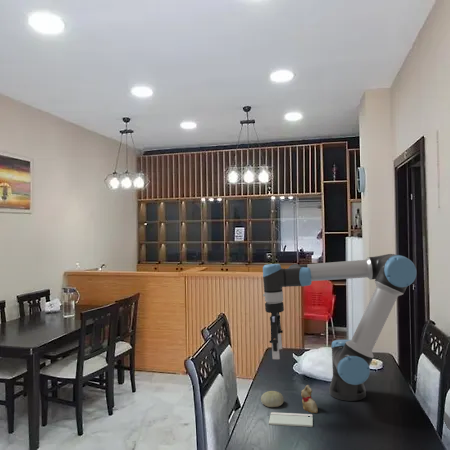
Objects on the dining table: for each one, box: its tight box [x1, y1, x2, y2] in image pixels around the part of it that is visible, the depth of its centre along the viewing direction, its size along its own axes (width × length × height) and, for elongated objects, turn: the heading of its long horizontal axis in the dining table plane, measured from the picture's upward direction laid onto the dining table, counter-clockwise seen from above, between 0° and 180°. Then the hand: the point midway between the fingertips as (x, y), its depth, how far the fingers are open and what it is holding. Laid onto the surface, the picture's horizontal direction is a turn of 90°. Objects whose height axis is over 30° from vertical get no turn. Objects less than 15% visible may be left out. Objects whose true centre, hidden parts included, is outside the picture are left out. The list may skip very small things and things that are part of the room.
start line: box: [270, 411, 313, 417], centre depth 161 cm, size 16×2×1 cm, turn 79°
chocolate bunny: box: [300, 384, 319, 414], centre depth 166 cm, size 6×8×10 cm
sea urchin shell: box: [260, 390, 285, 408], centre depth 172 cm, size 9×8×8 cm
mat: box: [268, 414, 314, 428], centre depth 156 cm, size 16×7×1 cm, turn 79°
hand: (277, 353), depth 170 cm, fingers open, 13 cm apart
